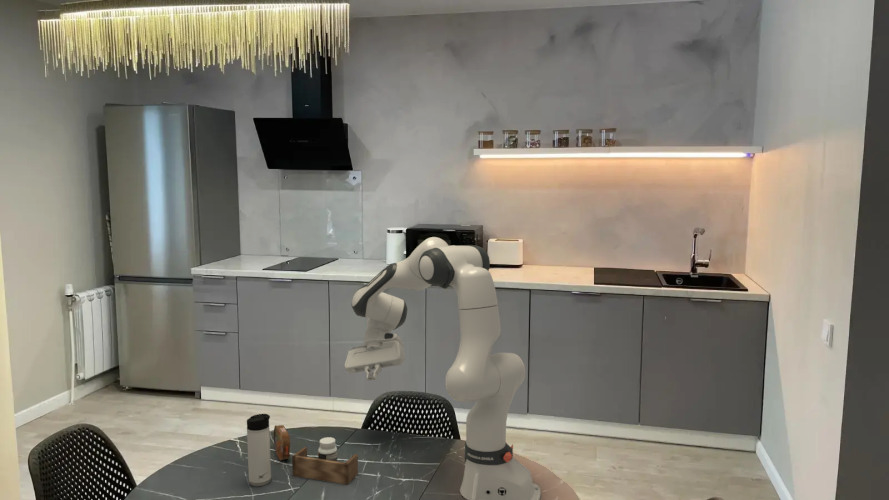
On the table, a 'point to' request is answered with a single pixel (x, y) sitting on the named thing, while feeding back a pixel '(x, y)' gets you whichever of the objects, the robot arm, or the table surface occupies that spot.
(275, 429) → the tin
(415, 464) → the table surface
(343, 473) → the box
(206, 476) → the table surface
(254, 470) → the travel mug
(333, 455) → the pill bottle
